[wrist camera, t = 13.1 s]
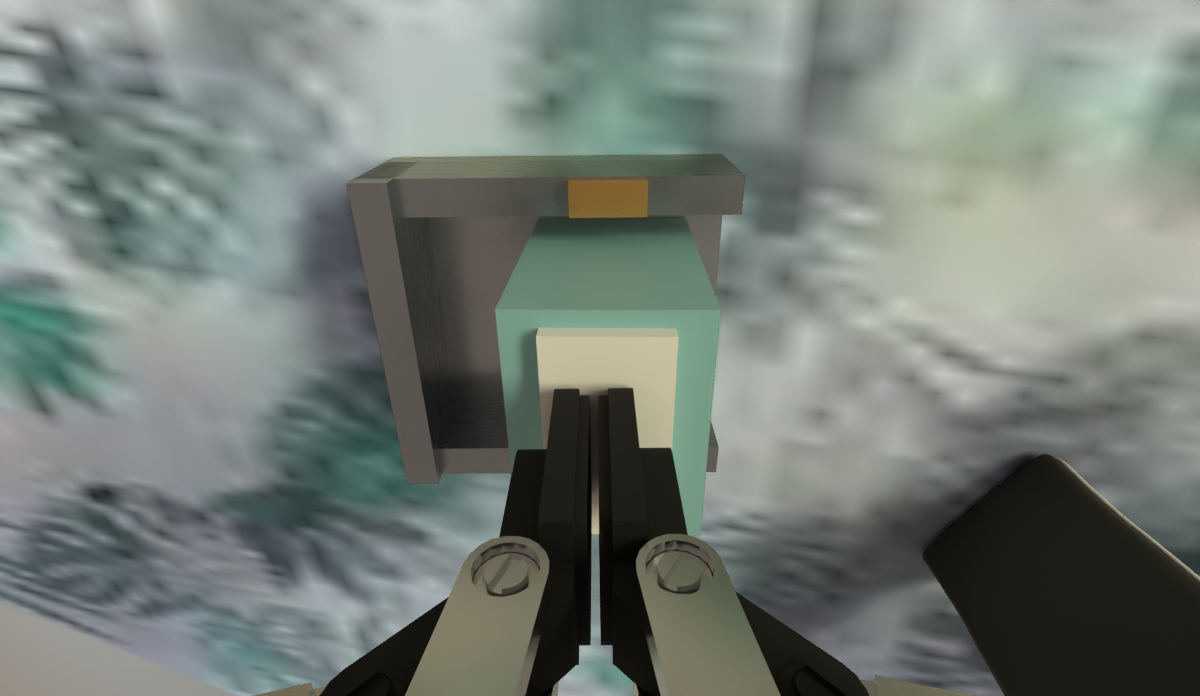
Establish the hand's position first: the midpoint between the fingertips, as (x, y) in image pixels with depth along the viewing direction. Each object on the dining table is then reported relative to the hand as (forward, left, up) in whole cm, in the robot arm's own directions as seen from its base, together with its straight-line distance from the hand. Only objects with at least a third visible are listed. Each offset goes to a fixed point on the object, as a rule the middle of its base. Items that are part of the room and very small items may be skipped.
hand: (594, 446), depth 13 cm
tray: (+1, 0, -8) cm, 8 cm away
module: (0, 0, -7) cm, 7 cm away
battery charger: (-17, +10, -9) cm, 21 cm away
